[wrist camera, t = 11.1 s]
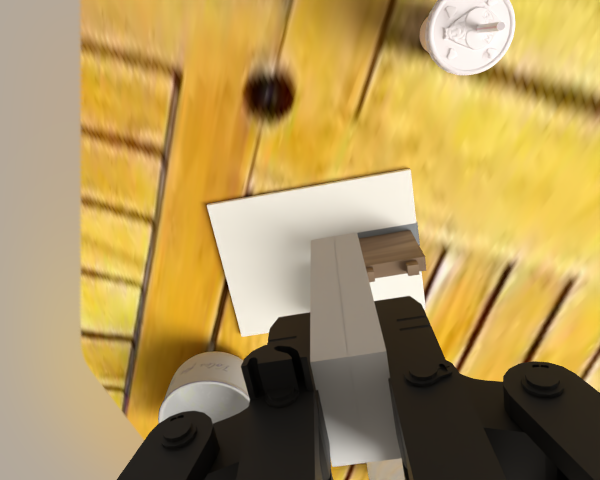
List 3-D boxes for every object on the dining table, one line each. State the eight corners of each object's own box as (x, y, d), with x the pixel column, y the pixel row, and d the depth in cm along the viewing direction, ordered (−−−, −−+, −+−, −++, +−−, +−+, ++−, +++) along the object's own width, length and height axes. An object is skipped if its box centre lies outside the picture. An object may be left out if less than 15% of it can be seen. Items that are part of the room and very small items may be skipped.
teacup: (232, 324, 57) (220, 365, 49) (283, 390, 60) (279, 439, 52) (138, 375, 59) (113, 422, 52) (191, 436, 63) (175, 488, 55)
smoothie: (475, 65, 46) (540, 72, 33) (406, 75, 46) (443, 85, 33) (474, -11, 43) (545, -36, 30) (402, 0, 44) (440, -20, 31)
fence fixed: (322, 242, 52) (324, 277, 44) (409, 227, 51) (428, 260, 43) (325, 257, 53) (328, 295, 45) (411, 243, 52) (430, 279, 44)
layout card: (207, 203, 51) (206, 205, 51) (410, 168, 49) (411, 169, 49) (242, 333, 57) (241, 336, 56) (425, 306, 55) (426, 309, 55)
